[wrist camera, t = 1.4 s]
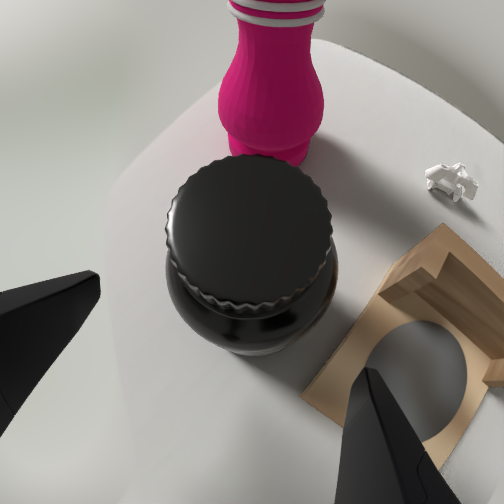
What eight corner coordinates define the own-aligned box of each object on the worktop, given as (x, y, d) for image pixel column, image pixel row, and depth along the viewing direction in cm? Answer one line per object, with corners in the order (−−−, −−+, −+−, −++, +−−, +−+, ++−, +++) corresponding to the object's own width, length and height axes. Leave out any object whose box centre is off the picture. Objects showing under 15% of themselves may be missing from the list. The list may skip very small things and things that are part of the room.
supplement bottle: (303, 250, 21) (350, 129, 10) (310, 353, 19) (387, 340, 7) (200, 253, 21) (147, 135, 10) (199, 357, 19) (123, 348, 7)
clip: (415, 188, 23) (435, 162, 19) (417, 170, 23) (436, 144, 20) (463, 210, 22) (487, 188, 19) (463, 193, 23) (485, 170, 19)
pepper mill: (219, 116, 25) (194, -115, 6) (302, 109, 25) (333, -112, 7) (227, 186, 23) (190, -116, 4) (323, 176, 23) (400, -97, 4)
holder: (423, 478, 15) (478, 507, 9) (299, 396, 18) (323, 414, 11) (496, 353, 18) (558, 342, 11) (393, 263, 21) (443, 222, 14)
